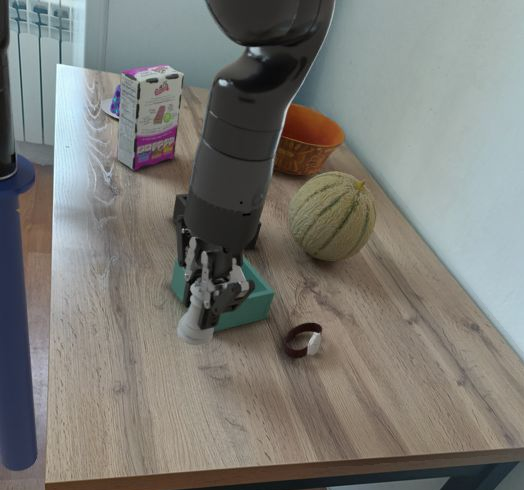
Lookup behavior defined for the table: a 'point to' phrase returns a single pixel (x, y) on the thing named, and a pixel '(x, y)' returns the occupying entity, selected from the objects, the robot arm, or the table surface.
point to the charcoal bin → (180, 209)
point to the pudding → (112, 104)
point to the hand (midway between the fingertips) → (198, 315)
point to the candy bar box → (148, 115)
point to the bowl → (306, 141)
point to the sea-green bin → (248, 310)
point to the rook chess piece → (194, 318)
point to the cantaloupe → (332, 216)
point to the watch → (313, 342)
